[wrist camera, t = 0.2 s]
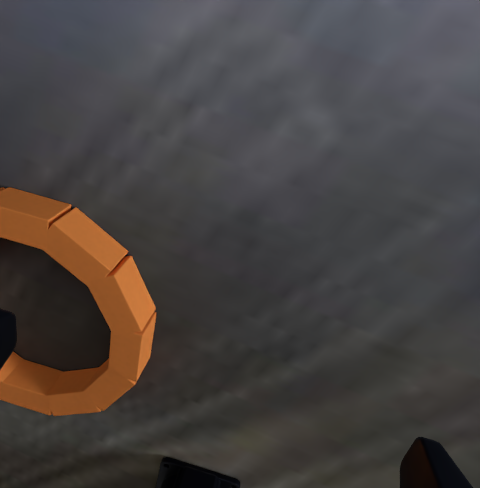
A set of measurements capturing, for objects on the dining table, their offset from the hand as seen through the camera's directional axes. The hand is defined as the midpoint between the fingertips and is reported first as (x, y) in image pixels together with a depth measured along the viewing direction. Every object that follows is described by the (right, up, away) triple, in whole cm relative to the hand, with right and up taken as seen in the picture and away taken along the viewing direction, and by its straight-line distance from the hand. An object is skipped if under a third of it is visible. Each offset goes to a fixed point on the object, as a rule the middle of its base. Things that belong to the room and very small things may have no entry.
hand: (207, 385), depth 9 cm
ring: (-13, -1, +20) cm, 23 cm away
